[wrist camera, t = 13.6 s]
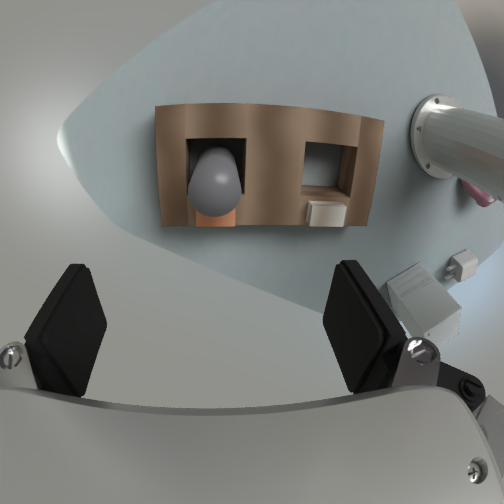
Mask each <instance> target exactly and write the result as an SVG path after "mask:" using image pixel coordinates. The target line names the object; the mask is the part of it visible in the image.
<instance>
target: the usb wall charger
mask: <svg viewBox="0 0 504 504" xmlns="http://www.w3.org/2000/svg"><path fill="white" fill-rule="evenodd" d="M477 264H478V259H477V258H476V257H475V256H474V255H473V254H472V253H471V252H470V251H469V250H465V251H463V252H461V253H459V254H456V255H454V256H452V257H451V259H450V266H449V267H448V268H446V270H447V271H449V273H450V275H448V276H446V277H447V278H446V277H444V278H445V279H446V280H447V279H449V278H451V277H454V278H455V279H456V280H457V281H458V282H461V281H463V280H465V279H467V278H469V277H471V276H473V275H475V273H476V269H477ZM448 269H449V270H448Z"/></svg>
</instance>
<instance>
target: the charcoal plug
mask: <svg viewBox="0 0 504 504" xmlns="http://www.w3.org/2000/svg"><path fill="white" fill-rule="evenodd" d="M188 197H189V201H190V203H191V205H192V206H193V207H194V208H195V209H196V210H197V211H198V212H199V213H201V214H203V215H206V216H210V217H219V216H223V215H226V214H228V213H230V212H231V211H232V210H233V209H234V208H235V207H236V206H237V205H238V203H239V201H240V198H241V184H240V180H239V176H238V171H237V167H236V163H235V158H234V156H233V154H232V152H231V151H230V150H229V149H227V148H225V147H223V146H217V145H216V146H211V147H208V148H206V149H205V150H204V151H203V152H202V153H201V154H200V156H199V159H198V161H197V164H196V167H195V169H194V172H193V175H192V177H191V180H190V183H189V186H188Z"/></svg>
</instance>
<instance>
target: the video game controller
mask: <svg viewBox="0 0 504 504" xmlns="http://www.w3.org/2000/svg"><path fill="white" fill-rule="evenodd" d="M460 181H461V183H462V185H463V187H464V188H465V189H466V191H467V192H468V193H469V194H470V195H471V196H472V197H473V198H474V199H475V200H476V202H477V204H478V205H479V206H481V207H487V206H489V205H490V204H491V203H493V202H495V201H496V200H497V199H496V198H494V197H492V196H491V195H489V194H487V193H486V192H484V191H482V190H480V189H479V188H477V187H475V186H473V185H471V184H469V183H468V182H466V181H464V180H462V179H460Z"/></svg>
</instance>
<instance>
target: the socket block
mask: <svg viewBox="0 0 504 504" xmlns="http://www.w3.org/2000/svg"><path fill="white" fill-rule="evenodd" d="M155 125H156V155H157V174H158V189H159V201H160V213H161V223H162V226H196V227H230V226H235V225H309V226H317V227H343V226H367V222H368V217H369V212H370V208H371V203H372V198H373V192H374V187H375V182H376V176H377V170H378V164H379V157H380V151H381V144H382V136H383V128H384V121H382V120H378V119H373V118H368V117H363V116H358V115H352V114H346V113H340V112H333V111H326V110H319V109H310V108H301V107H291V106H279V105H263V104H236V103H207V104H180V105H165V106H155ZM190 138H243V164H242V184H241V198H240V201H239V203H238V205H237V206H236V207H235V208H234V209H233V210H232V211H231V212H230V213H228V214H226V215H223V216H219V217H210V216H206V215H203V214H201V213H199V212H198V211H197V210H196V209H195V208H194V207H193V206H192V205H191V203H190V201H189V197H188V186H189V183H190ZM306 141H309V142H320V143H329V144H338V145H343V149H342V157H341V165H340V173H339V180H338V187H326V186H306V185H301V184H302V175H303V164H304V154H305V143H306Z"/></svg>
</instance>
